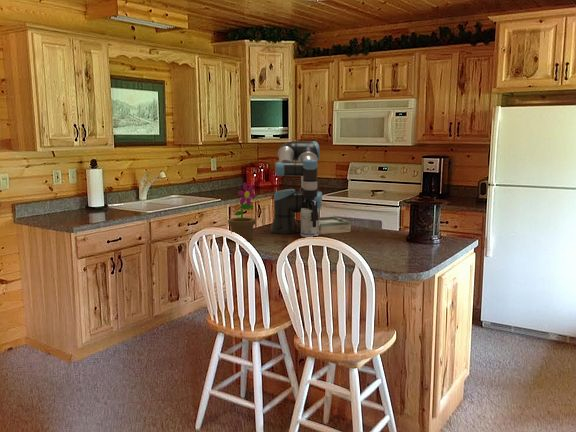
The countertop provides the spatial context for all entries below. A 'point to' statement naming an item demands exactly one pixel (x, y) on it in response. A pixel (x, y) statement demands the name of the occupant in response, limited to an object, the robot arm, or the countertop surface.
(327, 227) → the shallow square tray
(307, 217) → the supplement tub
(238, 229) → the flowerpot
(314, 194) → the robot arm
